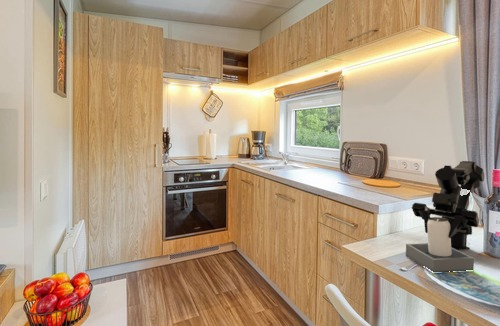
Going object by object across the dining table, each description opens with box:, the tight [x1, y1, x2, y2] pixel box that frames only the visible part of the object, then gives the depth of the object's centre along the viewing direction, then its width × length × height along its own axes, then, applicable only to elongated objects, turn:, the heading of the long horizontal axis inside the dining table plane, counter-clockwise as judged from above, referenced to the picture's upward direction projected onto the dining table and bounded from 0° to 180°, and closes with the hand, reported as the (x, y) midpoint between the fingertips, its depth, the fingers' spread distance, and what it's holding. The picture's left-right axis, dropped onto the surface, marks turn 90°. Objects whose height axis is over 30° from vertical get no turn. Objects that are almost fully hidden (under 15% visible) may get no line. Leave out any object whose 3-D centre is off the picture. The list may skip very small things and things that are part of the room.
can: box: [427, 216, 452, 257], centre depth 94 cm, size 6×6×12 cm
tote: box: [405, 242, 475, 272], centre depth 94 cm, size 14×14×4 cm
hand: (437, 234), depth 93 cm, fingers closed on can, 6 cm apart
